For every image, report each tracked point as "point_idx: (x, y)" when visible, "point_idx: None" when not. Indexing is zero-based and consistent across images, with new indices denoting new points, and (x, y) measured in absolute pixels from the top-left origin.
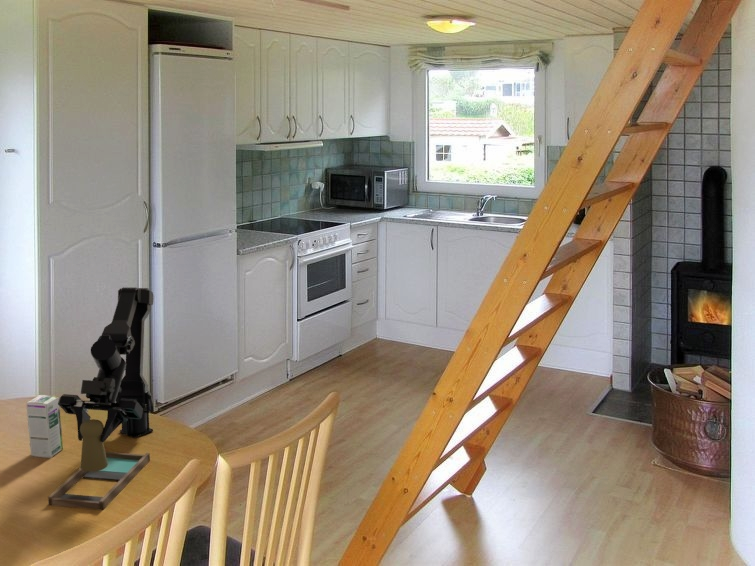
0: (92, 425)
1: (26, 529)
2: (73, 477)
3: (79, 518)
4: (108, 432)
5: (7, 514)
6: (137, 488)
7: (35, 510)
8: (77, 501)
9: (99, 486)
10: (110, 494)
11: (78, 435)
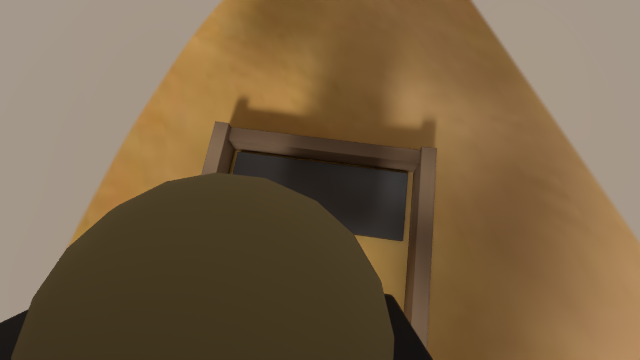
0: (143, 206)
1: (422, 17)
2: None
3: (287, 81)
4: None
5: (534, 95)
6: None
7: (455, 124)
8: (315, 137)
9: None
10: None
11: (401, 316)
